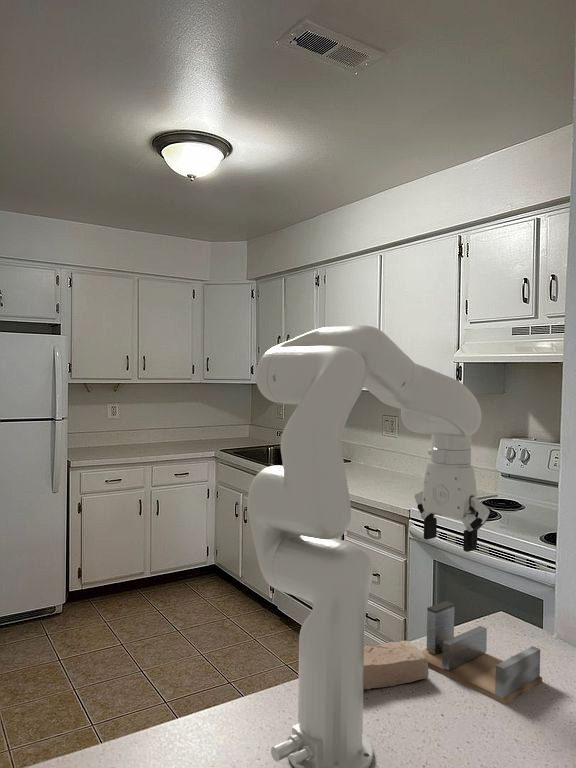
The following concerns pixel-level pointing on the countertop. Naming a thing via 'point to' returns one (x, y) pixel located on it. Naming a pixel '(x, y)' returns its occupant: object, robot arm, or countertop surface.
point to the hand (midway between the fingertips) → (449, 544)
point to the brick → (393, 664)
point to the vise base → (494, 673)
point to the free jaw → (452, 637)
